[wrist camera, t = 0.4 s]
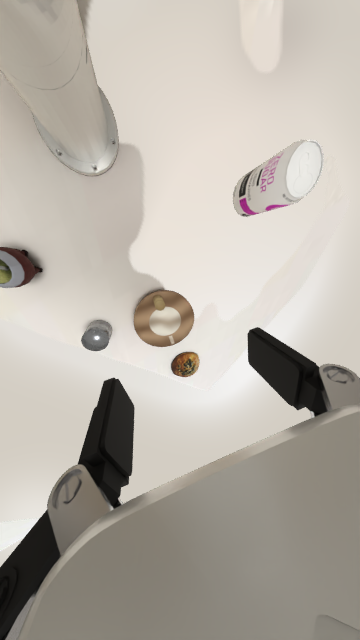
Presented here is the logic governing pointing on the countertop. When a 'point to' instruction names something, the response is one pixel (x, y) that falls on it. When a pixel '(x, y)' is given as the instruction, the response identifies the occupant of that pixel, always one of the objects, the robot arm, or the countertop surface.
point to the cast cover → (97, 335)
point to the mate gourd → (15, 268)
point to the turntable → (163, 318)
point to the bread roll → (185, 364)
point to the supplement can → (280, 179)
